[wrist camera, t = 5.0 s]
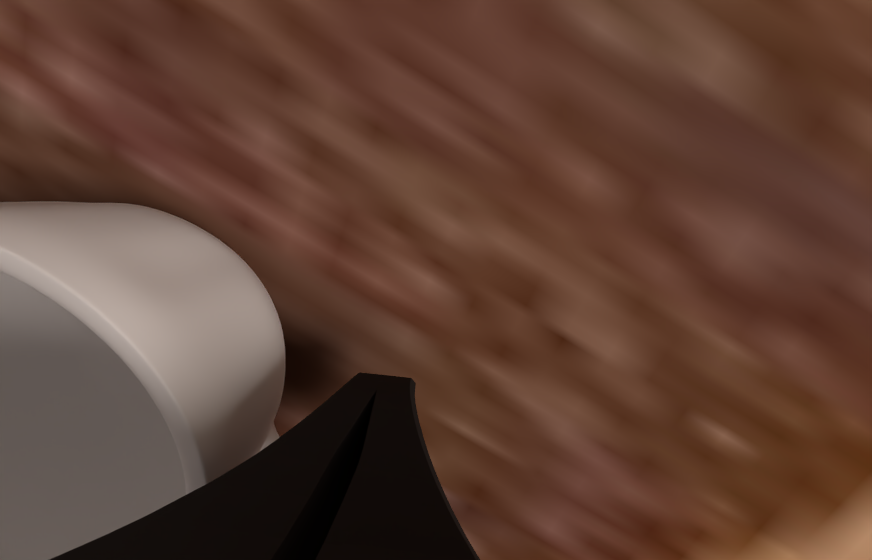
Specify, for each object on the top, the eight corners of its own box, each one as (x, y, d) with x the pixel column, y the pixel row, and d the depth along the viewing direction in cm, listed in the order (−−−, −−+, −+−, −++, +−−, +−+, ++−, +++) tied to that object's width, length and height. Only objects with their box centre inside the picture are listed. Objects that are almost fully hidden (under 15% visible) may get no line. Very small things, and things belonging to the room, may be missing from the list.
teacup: (8, 311, 12) (-342, 432, 7) (148, 114, 10) (-189, 70, 5) (269, 513, 14) (152, 732, 8) (431, 379, 12) (408, 556, 7)
